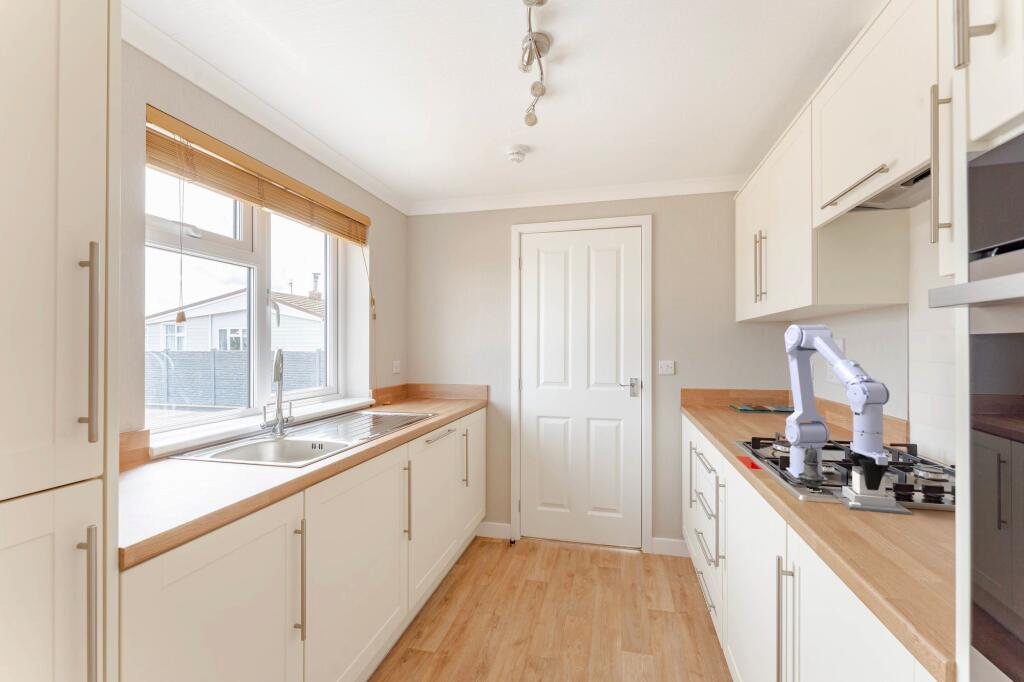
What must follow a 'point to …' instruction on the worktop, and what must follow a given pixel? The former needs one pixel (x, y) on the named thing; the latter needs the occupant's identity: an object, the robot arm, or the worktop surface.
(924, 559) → the worktop surface
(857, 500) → the socket plate
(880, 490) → the plug
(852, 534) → the worktop surface
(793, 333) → the robot arm
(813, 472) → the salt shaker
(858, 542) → the worktop surface
